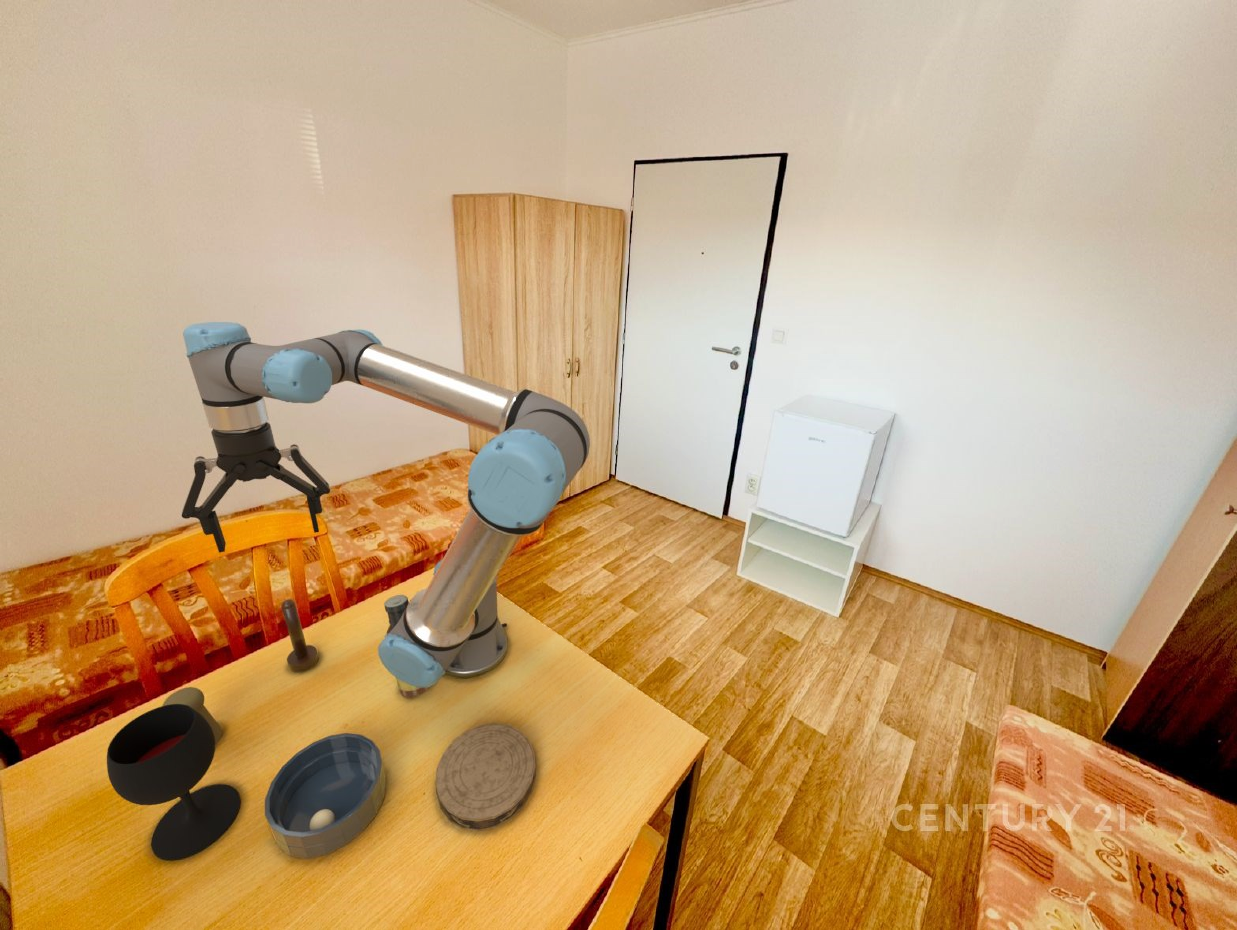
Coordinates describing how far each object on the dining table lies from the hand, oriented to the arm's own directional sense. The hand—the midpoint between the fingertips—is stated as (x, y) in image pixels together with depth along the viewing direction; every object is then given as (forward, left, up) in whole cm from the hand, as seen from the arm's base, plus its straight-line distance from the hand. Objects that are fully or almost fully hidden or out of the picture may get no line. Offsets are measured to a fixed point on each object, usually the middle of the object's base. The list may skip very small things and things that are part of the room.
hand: (271, 538), depth 85 cm
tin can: (-24, +40, -31) cm, 56 cm away
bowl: (-2, +32, -31) cm, 44 cm away
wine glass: (+15, +25, -31) cm, 42 cm away
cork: (+16, +10, -31) cm, 36 cm away
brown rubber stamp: (0, -1, -31) cm, 31 cm away
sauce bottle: (-18, +16, -31) cm, 39 cm away
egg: (-1, +36, -29) cm, 46 cm away
